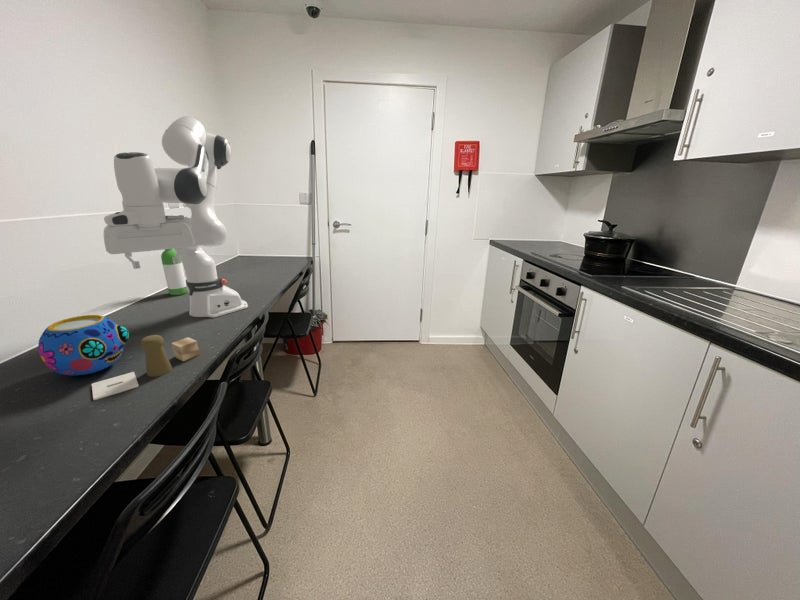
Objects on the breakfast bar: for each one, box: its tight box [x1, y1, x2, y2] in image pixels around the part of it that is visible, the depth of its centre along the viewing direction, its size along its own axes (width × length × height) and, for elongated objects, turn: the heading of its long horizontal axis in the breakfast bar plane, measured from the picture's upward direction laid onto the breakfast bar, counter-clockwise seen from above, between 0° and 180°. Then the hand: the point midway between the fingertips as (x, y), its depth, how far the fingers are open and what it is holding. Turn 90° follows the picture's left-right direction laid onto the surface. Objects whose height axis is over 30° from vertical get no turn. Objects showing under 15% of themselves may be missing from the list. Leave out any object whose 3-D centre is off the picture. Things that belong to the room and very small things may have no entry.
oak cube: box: [171, 336, 201, 362], centre depth 102 cm, size 5×5×5 cm
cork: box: [140, 334, 173, 378], centre depth 93 cm, size 6×6×11 cm
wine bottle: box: [160, 249, 188, 297], centre depth 156 cm, size 8×8×30 cm
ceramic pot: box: [37, 314, 130, 376], centre depth 92 cm, size 18×18×15 cm
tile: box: [91, 371, 140, 401], centre depth 87 cm, size 9×9×1 cm
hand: (157, 265), depth 94 cm, fingers open, 8 cm apart
